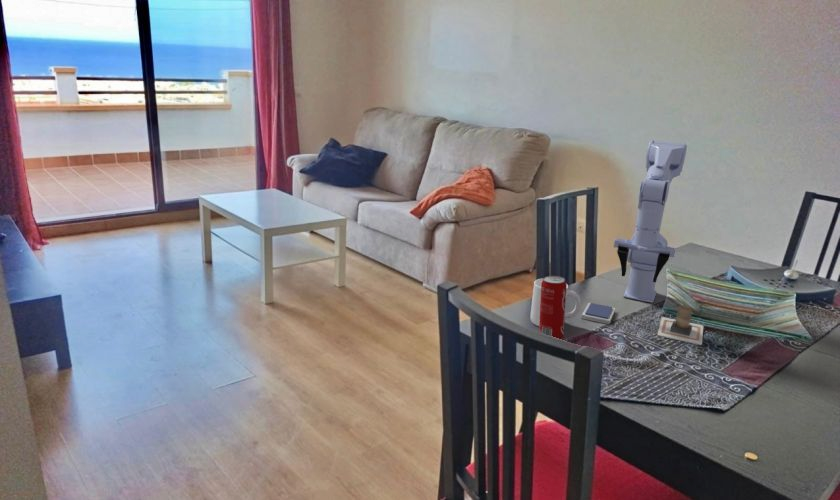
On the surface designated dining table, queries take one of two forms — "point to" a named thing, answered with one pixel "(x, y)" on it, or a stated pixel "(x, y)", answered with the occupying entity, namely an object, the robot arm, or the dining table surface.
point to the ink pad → (598, 313)
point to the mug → (537, 297)
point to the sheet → (693, 338)
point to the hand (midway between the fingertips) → (638, 278)
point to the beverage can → (552, 306)
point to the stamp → (682, 320)
